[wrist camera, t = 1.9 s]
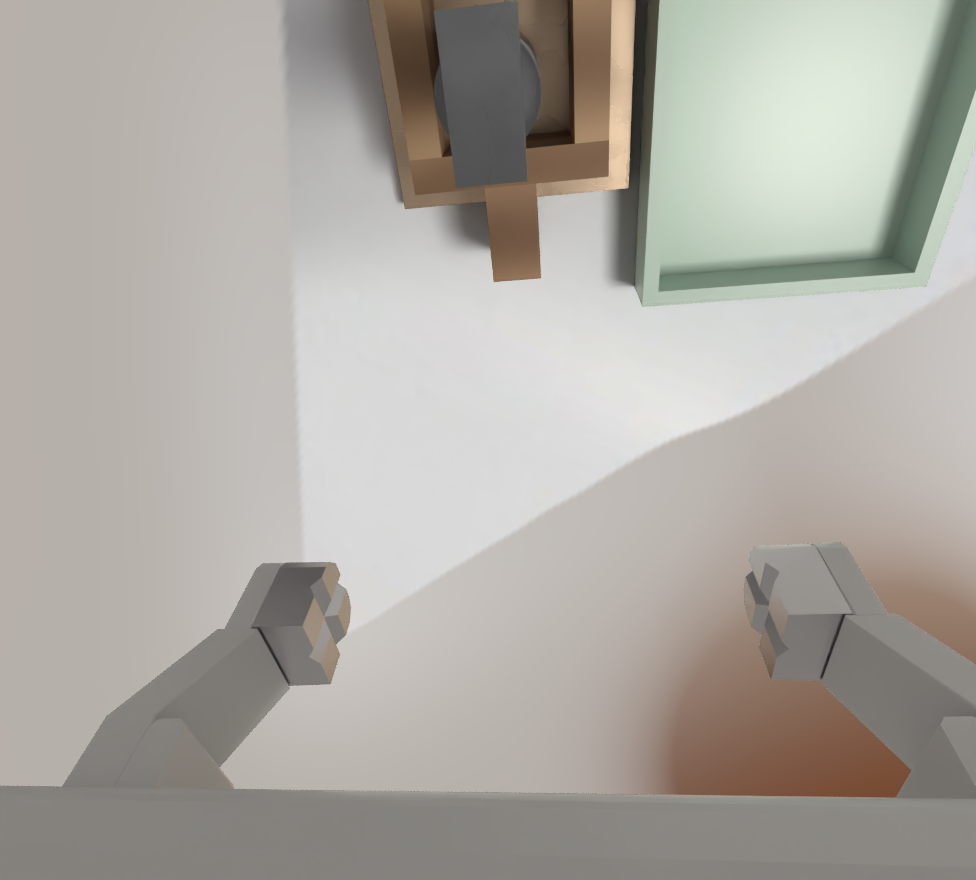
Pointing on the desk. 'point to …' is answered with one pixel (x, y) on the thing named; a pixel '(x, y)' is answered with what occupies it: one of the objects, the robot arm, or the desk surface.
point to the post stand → (507, 92)
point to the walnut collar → (546, 152)
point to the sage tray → (800, 145)
